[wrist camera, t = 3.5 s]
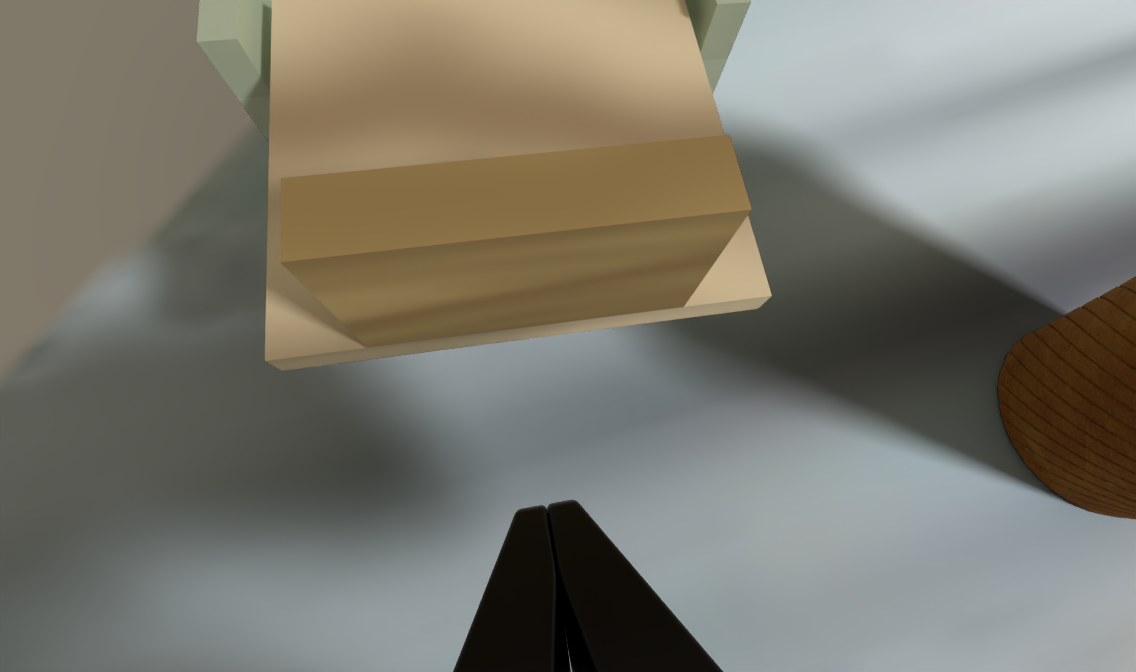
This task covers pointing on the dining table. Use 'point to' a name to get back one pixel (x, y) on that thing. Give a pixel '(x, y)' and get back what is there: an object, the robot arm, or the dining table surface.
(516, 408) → the dining table surface
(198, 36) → the box
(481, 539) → the dining table surface
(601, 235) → the lid
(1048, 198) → the dining table surface
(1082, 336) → the disposable coffee cup
